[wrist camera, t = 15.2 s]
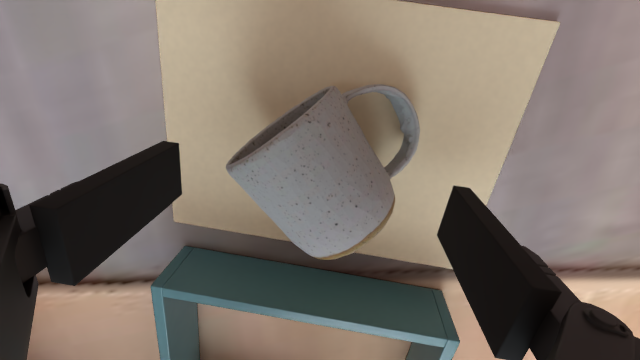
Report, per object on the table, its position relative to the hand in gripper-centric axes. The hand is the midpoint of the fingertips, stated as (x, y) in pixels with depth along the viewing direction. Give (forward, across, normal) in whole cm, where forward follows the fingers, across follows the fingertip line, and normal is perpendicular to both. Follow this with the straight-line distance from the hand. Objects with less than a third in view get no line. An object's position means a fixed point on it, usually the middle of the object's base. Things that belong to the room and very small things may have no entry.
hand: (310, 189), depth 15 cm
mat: (+8, 0, 0) cm, 8 cm away
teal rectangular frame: (+8, 0, -21) cm, 22 cm away
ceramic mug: (+8, +1, 0) cm, 8 cm away
